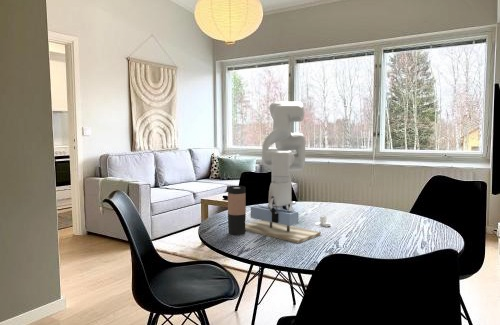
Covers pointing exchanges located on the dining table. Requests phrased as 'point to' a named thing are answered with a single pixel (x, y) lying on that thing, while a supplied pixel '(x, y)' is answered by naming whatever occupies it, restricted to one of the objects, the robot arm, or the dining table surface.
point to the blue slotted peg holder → (265, 214)
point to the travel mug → (236, 210)
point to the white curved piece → (323, 221)
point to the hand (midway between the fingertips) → (279, 220)
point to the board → (281, 231)
